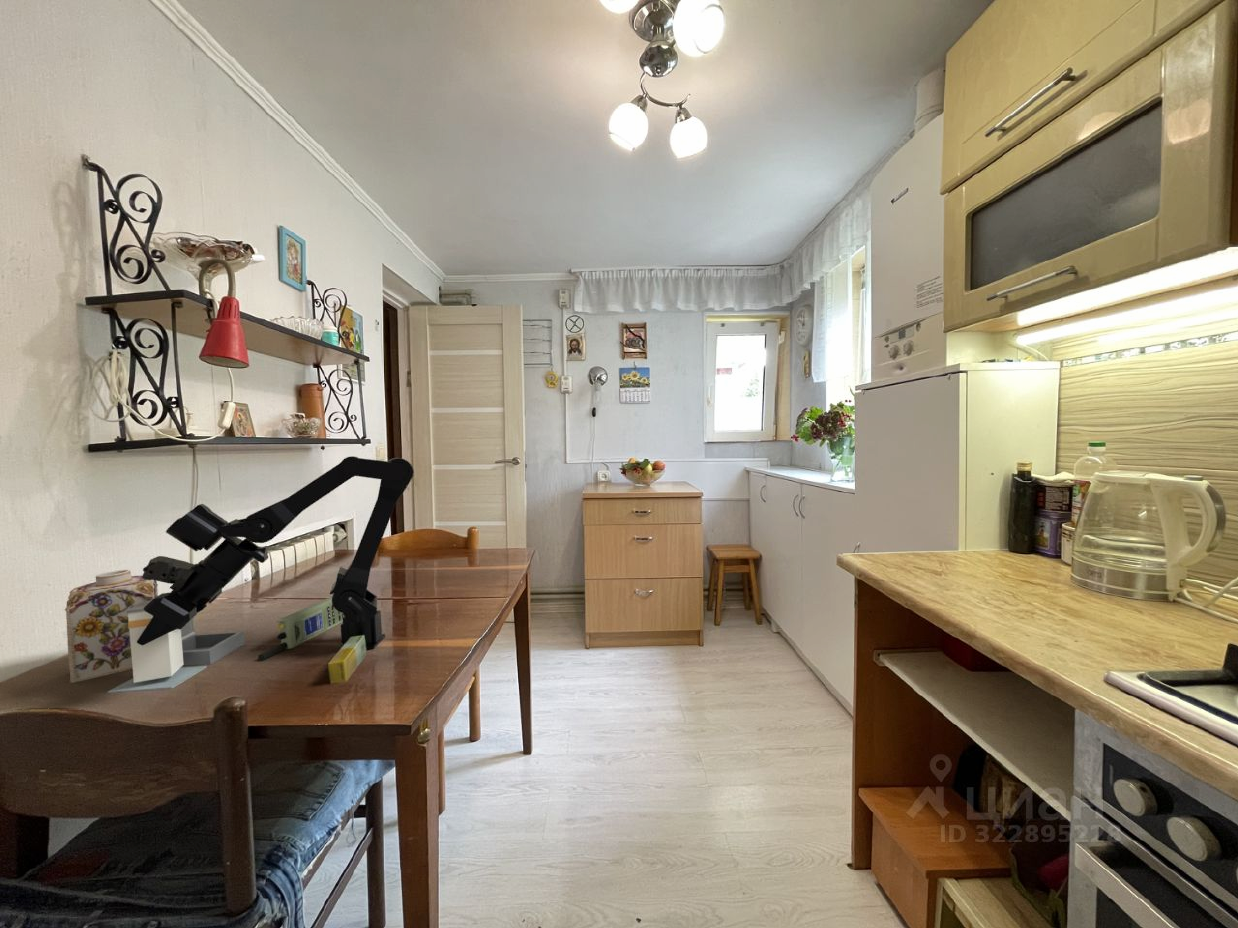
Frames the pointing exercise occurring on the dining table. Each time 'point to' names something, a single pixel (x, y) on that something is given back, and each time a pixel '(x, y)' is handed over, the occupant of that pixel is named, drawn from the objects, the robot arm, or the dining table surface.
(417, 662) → the dining table surface
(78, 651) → the decorative jar
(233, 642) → the case
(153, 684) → the pad
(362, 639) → the medication box
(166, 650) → the block
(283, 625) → the handheld radio
